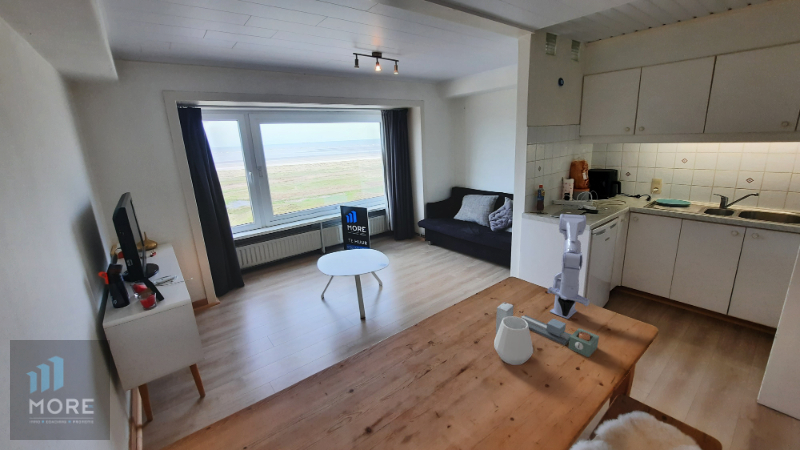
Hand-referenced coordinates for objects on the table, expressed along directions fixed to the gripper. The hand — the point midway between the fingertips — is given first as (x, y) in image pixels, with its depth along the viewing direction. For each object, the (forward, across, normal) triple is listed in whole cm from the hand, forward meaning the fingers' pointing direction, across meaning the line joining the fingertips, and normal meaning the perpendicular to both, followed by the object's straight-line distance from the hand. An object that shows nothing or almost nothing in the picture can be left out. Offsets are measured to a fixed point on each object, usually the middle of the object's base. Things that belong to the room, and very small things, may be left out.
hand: (565, 315), depth 125 cm
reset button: (+8, +8, -2) cm, 12 cm away
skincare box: (+10, -17, -15) cm, 24 cm away
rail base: (+9, -7, -2) cm, 12 cm away
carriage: (+8, -2, -2) cm, 8 cm away
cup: (+9, -7, -25) cm, 28 cm away
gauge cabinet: (+9, +8, -2) cm, 13 cm away
